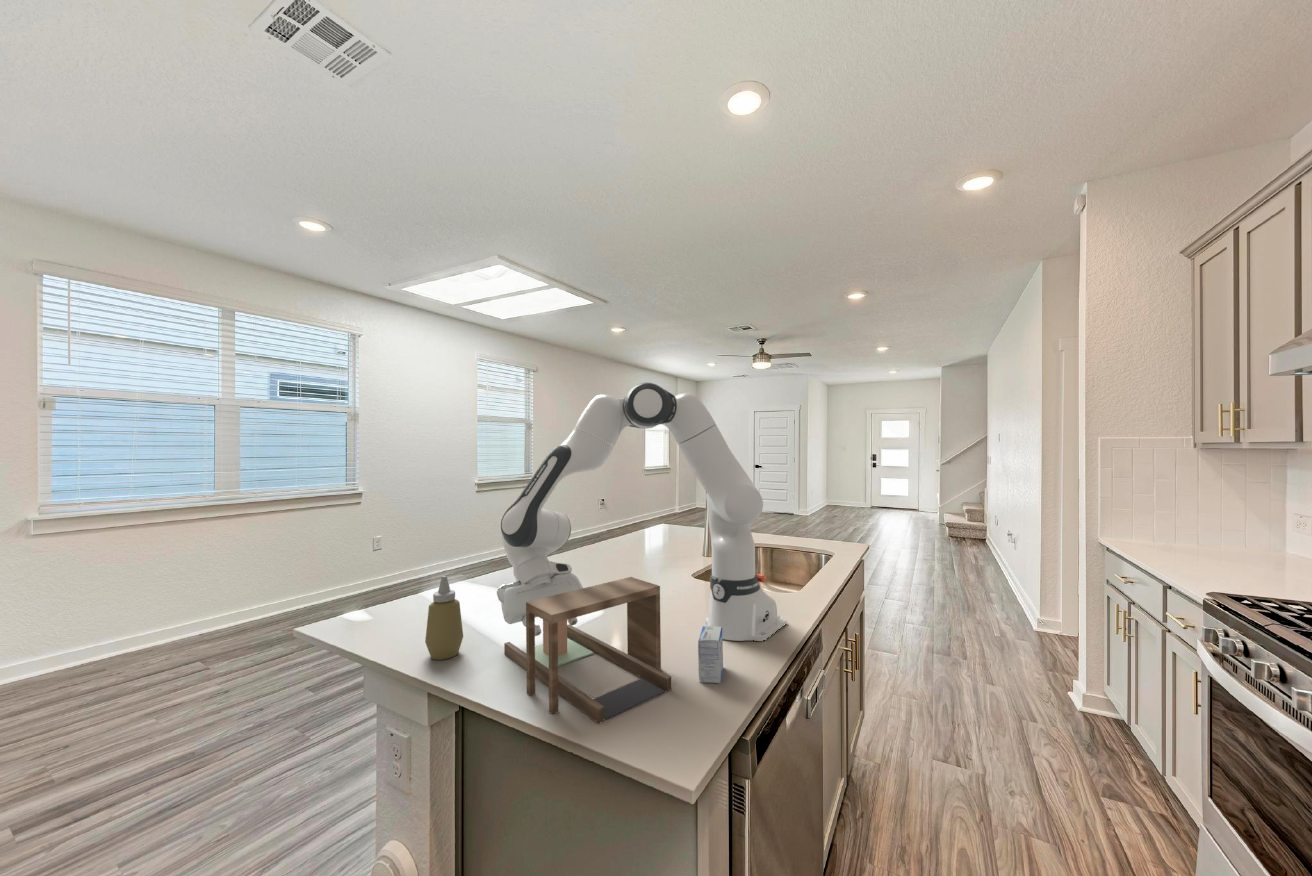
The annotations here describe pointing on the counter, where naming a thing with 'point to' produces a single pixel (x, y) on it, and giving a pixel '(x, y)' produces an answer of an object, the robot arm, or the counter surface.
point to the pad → (572, 654)
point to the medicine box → (710, 654)
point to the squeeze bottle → (444, 623)
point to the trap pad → (628, 697)
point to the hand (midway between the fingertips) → (556, 629)
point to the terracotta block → (561, 637)
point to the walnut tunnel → (584, 601)
